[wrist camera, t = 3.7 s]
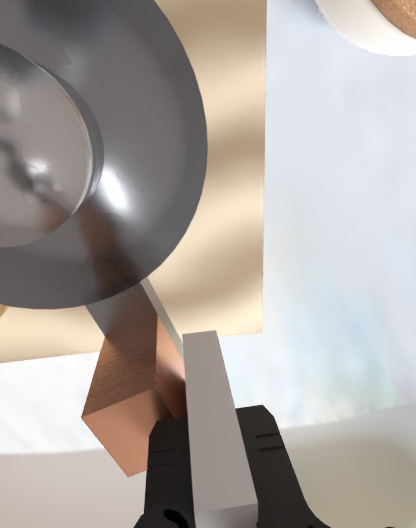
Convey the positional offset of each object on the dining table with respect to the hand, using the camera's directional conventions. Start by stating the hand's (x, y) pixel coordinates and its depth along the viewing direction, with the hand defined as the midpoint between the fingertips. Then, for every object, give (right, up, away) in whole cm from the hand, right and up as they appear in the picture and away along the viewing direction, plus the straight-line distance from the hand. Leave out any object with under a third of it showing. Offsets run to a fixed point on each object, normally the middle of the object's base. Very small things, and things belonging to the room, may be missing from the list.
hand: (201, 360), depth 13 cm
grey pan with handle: (-5, +6, 0) cm, 8 cm away
